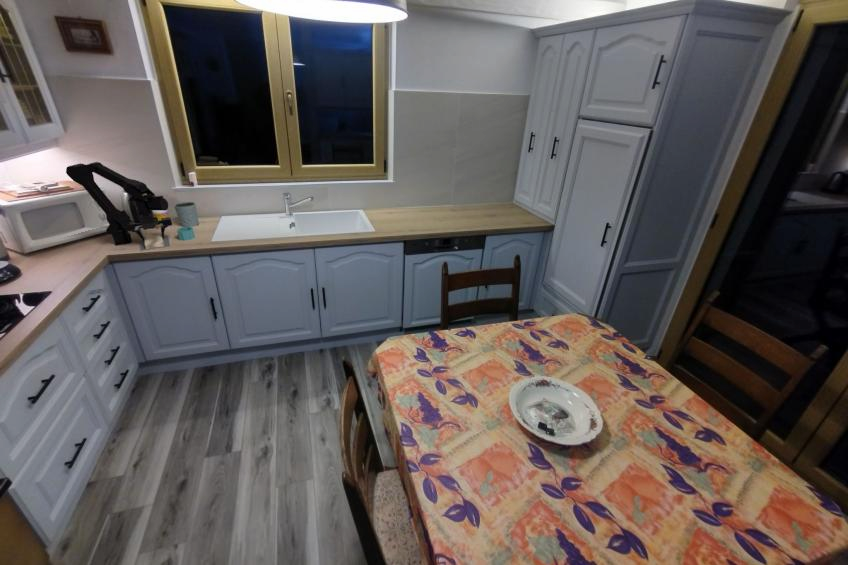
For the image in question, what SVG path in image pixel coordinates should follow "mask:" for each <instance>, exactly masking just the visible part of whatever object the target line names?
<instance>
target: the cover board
mask: <svg viewBox="0 0 848 565" xmlns="http://www.w3.org/2000/svg"><path fill="white" fill-rule="evenodd" d="M144 238H145V246H146V249H149V248H155V247H162V246H164V242H163V239H162V234H161V232H155V233H149V234H144Z"/></svg>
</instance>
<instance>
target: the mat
mask: <svg viewBox="0 0 848 565" xmlns="http://www.w3.org/2000/svg"><path fill="white" fill-rule="evenodd" d="M169 239H170V238H169V234H168V235H164V240H163V242H164V246H162V247H155V248H149V249H146V246H145V242H144V241H143V240H142V238H140V243H139V244H140V246H139V249H140V250H139V251H140V252H142V251H150V250H155V249H162V248H167V247H168V248H169V247H171V245H170V244H171V243H170V240H169Z"/></svg>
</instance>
